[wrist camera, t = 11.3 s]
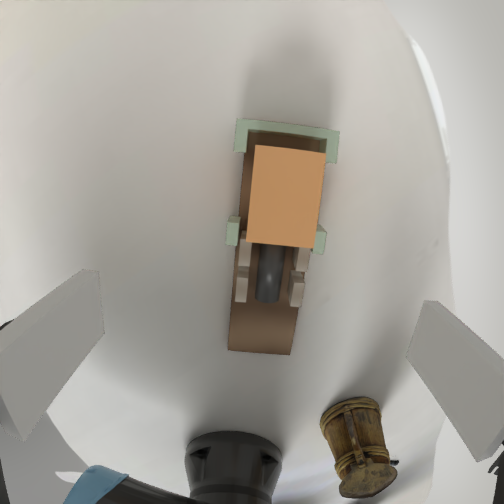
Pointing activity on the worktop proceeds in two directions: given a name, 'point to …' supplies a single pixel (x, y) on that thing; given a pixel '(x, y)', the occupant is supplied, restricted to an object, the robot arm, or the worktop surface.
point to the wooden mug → (358, 447)
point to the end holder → (326, 136)
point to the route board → (246, 265)
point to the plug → (282, 210)
